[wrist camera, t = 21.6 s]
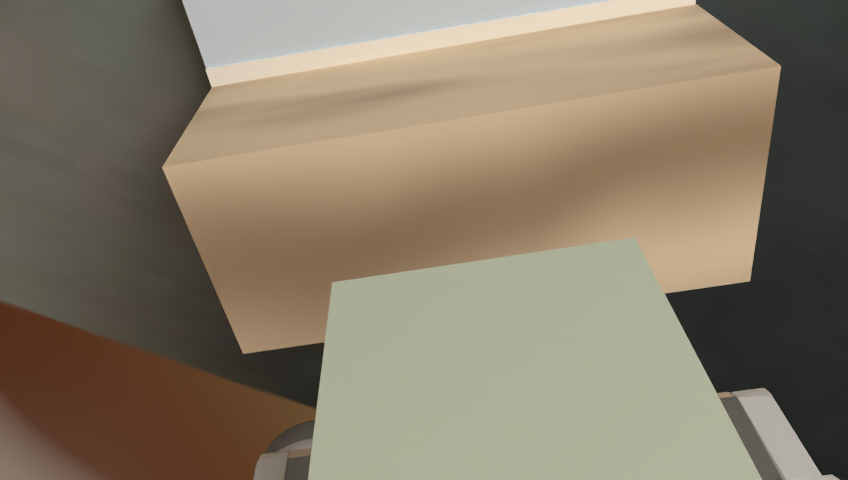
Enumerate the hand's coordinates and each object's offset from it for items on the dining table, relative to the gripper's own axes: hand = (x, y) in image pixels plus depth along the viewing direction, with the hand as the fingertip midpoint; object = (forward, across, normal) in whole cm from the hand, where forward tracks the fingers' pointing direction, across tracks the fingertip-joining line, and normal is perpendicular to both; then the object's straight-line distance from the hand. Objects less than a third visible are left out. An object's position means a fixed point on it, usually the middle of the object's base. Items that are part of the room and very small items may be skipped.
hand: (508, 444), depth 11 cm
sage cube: (+2, 0, 0) cm, 2 cm away
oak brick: (+12, 0, 0) cm, 12 cm away
